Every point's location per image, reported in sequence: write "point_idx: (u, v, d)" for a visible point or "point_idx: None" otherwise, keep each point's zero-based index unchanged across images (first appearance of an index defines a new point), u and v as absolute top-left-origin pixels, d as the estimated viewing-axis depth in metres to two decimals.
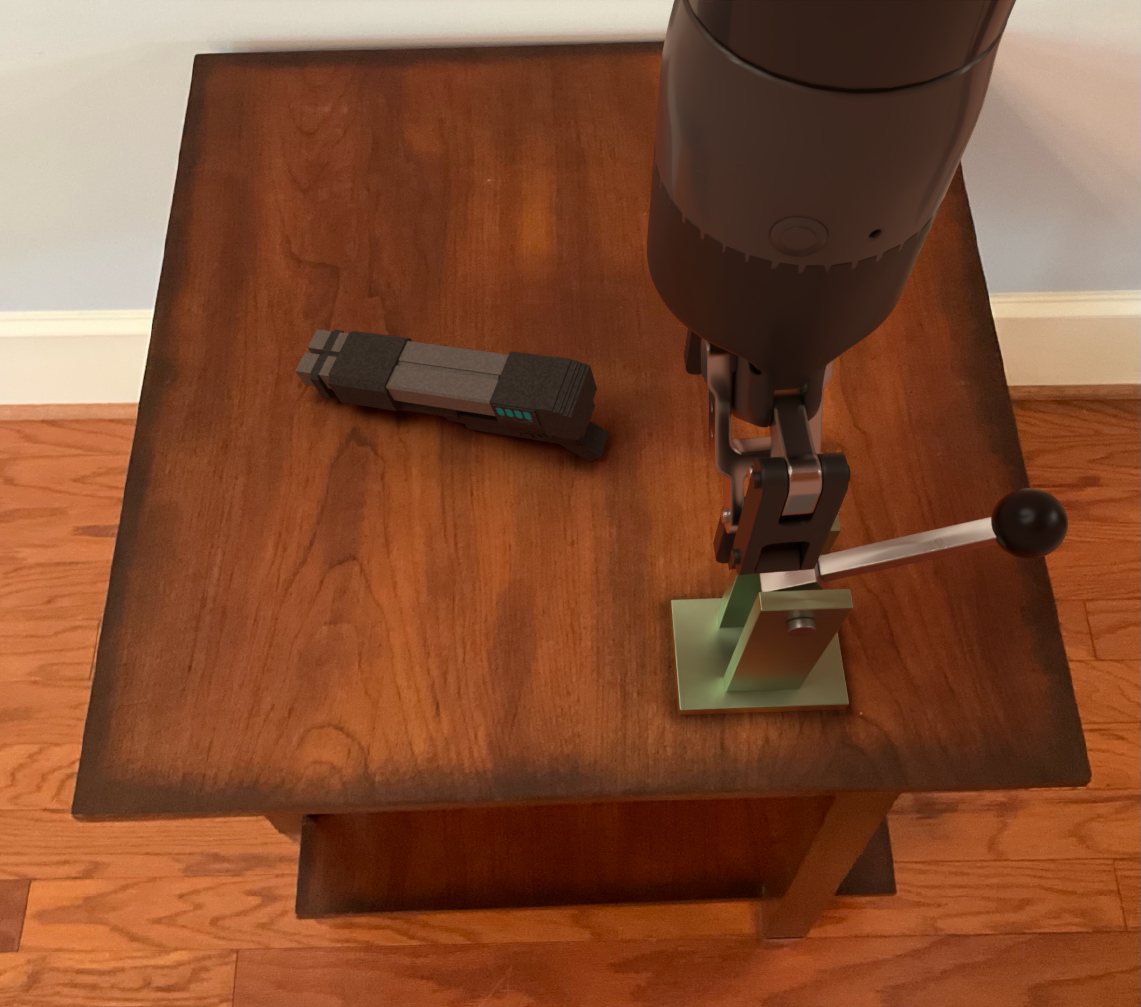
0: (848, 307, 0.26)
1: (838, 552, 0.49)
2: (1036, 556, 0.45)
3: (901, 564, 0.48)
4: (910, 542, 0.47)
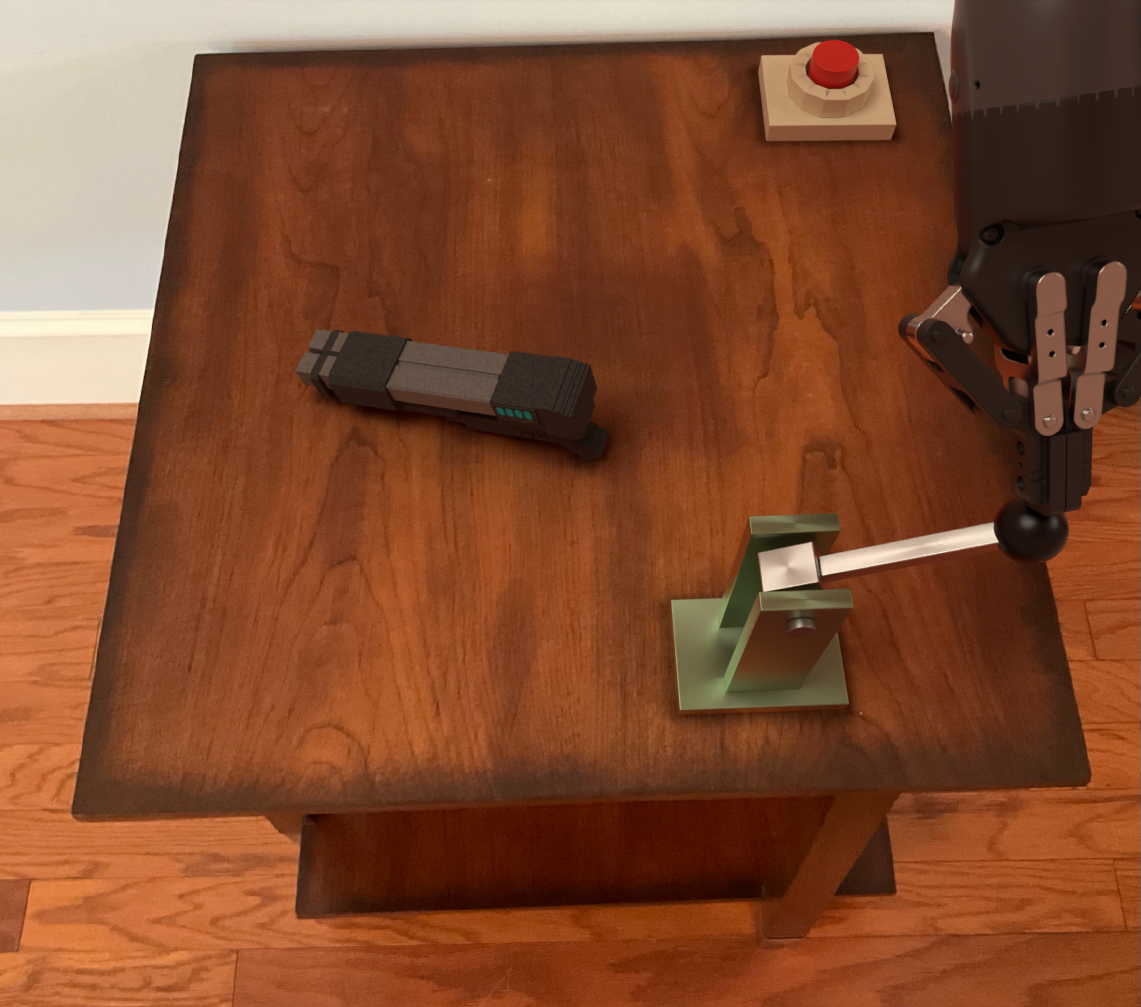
0: (978, 162, 0.39)
1: (840, 553, 0.49)
2: (1037, 562, 0.46)
3: (902, 567, 0.48)
4: (912, 545, 0.48)
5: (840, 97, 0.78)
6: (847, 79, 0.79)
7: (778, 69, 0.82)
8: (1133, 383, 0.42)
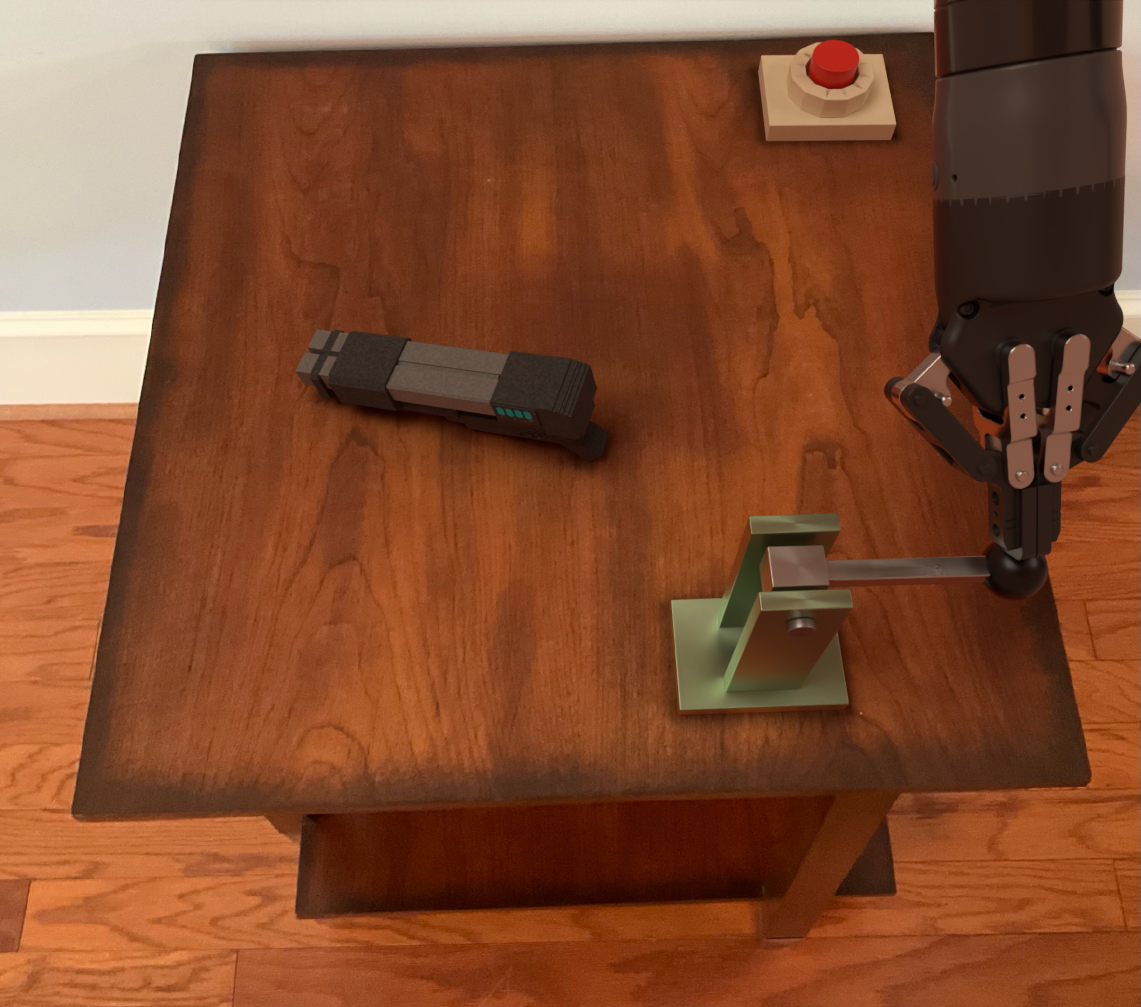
0: (956, 245, 0.43)
1: (844, 561, 0.50)
2: (1018, 598, 0.50)
3: (896, 584, 0.50)
4: (913, 565, 0.50)
5: (840, 97, 0.78)
6: (847, 79, 0.79)
7: (778, 69, 0.82)
8: (1098, 441, 0.46)
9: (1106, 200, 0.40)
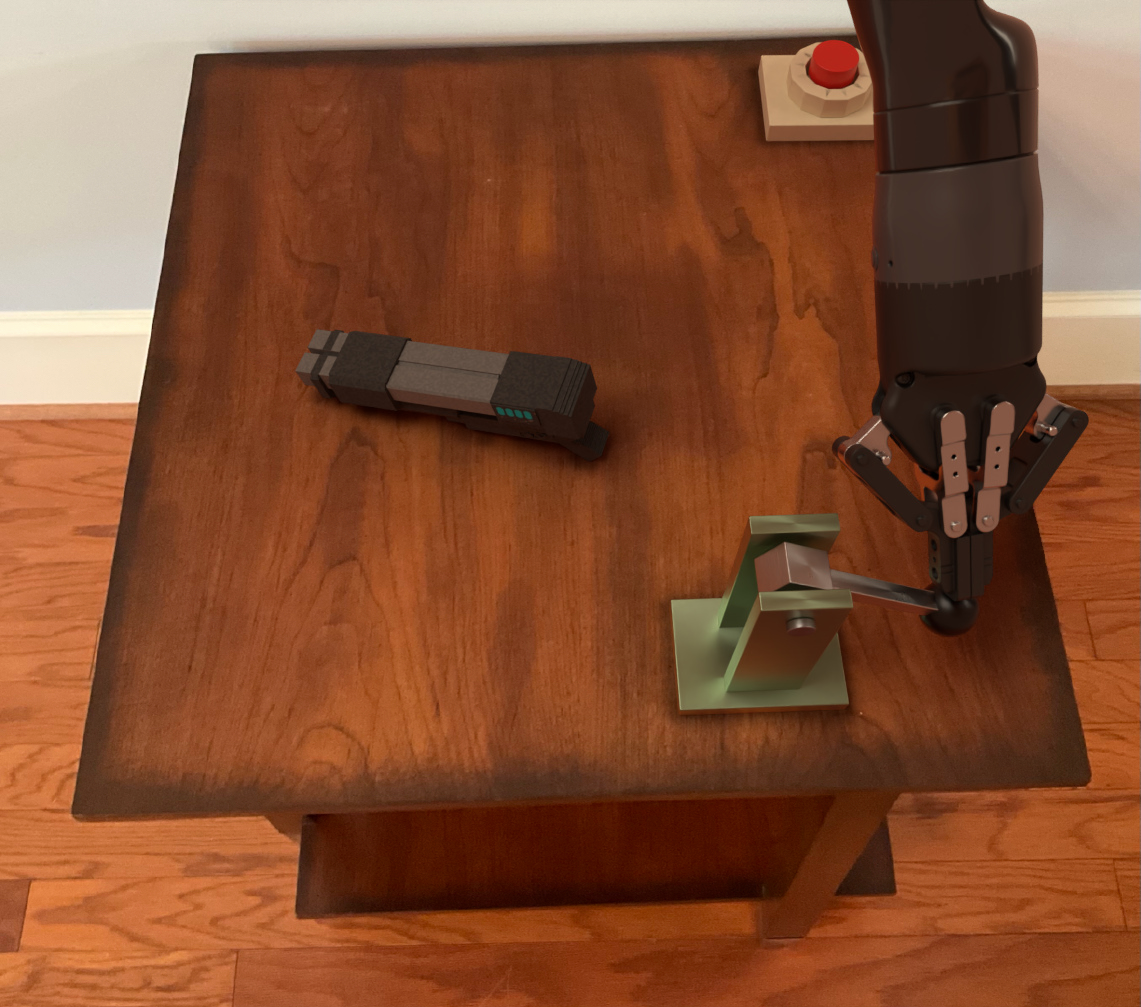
0: (893, 323, 0.47)
1: (836, 571, 0.51)
2: (951, 635, 0.55)
3: (867, 602, 0.53)
4: (886, 587, 0.53)
5: (840, 97, 0.78)
6: (847, 79, 0.79)
7: (778, 69, 0.82)
8: (1024, 495, 0.51)
9: (1024, 287, 0.45)
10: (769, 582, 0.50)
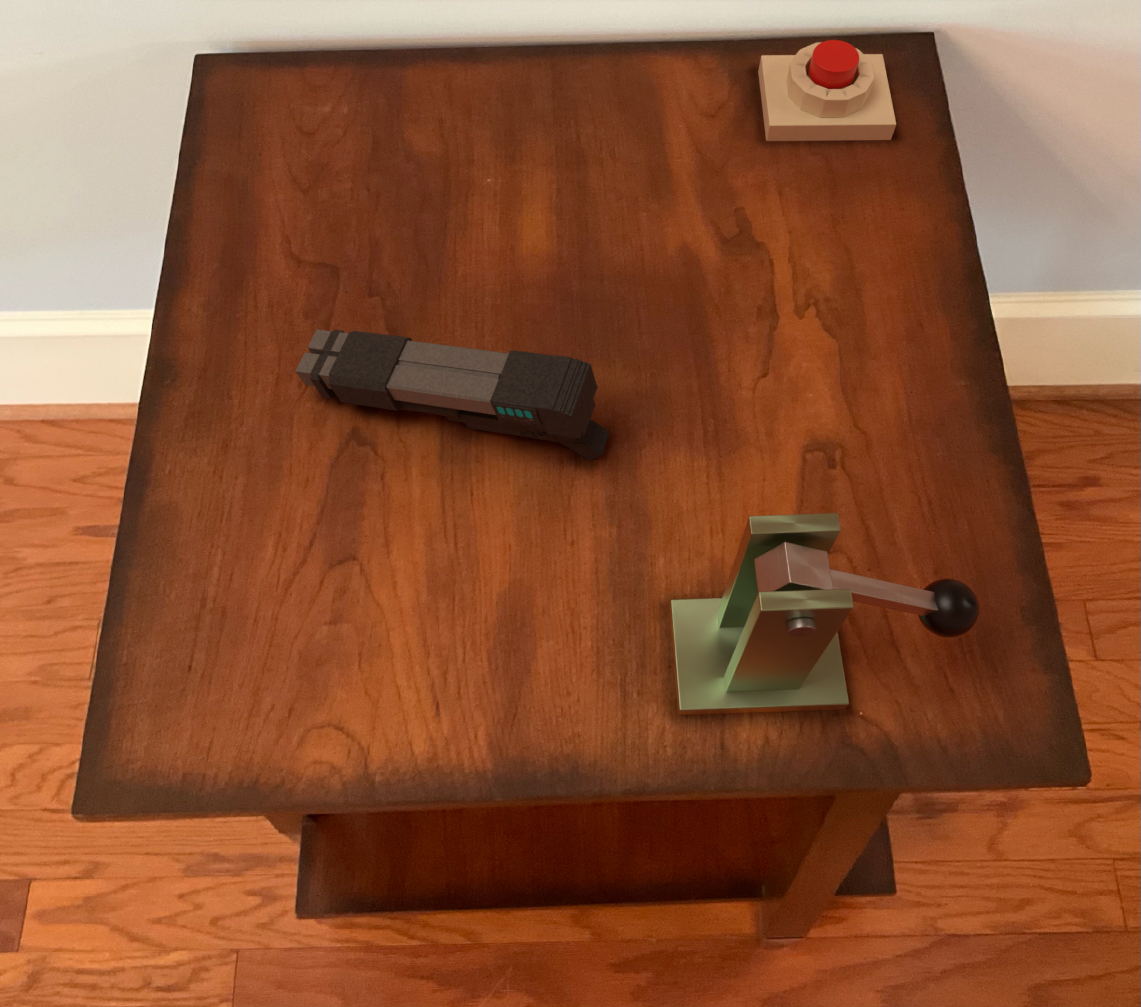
0: None
1: (836, 571, 0.51)
2: (951, 636, 0.55)
3: (867, 602, 0.53)
4: (886, 587, 0.53)
5: (840, 97, 0.78)
6: (847, 79, 0.79)
7: (778, 69, 0.82)
8: None
9: None
10: (769, 582, 0.50)
